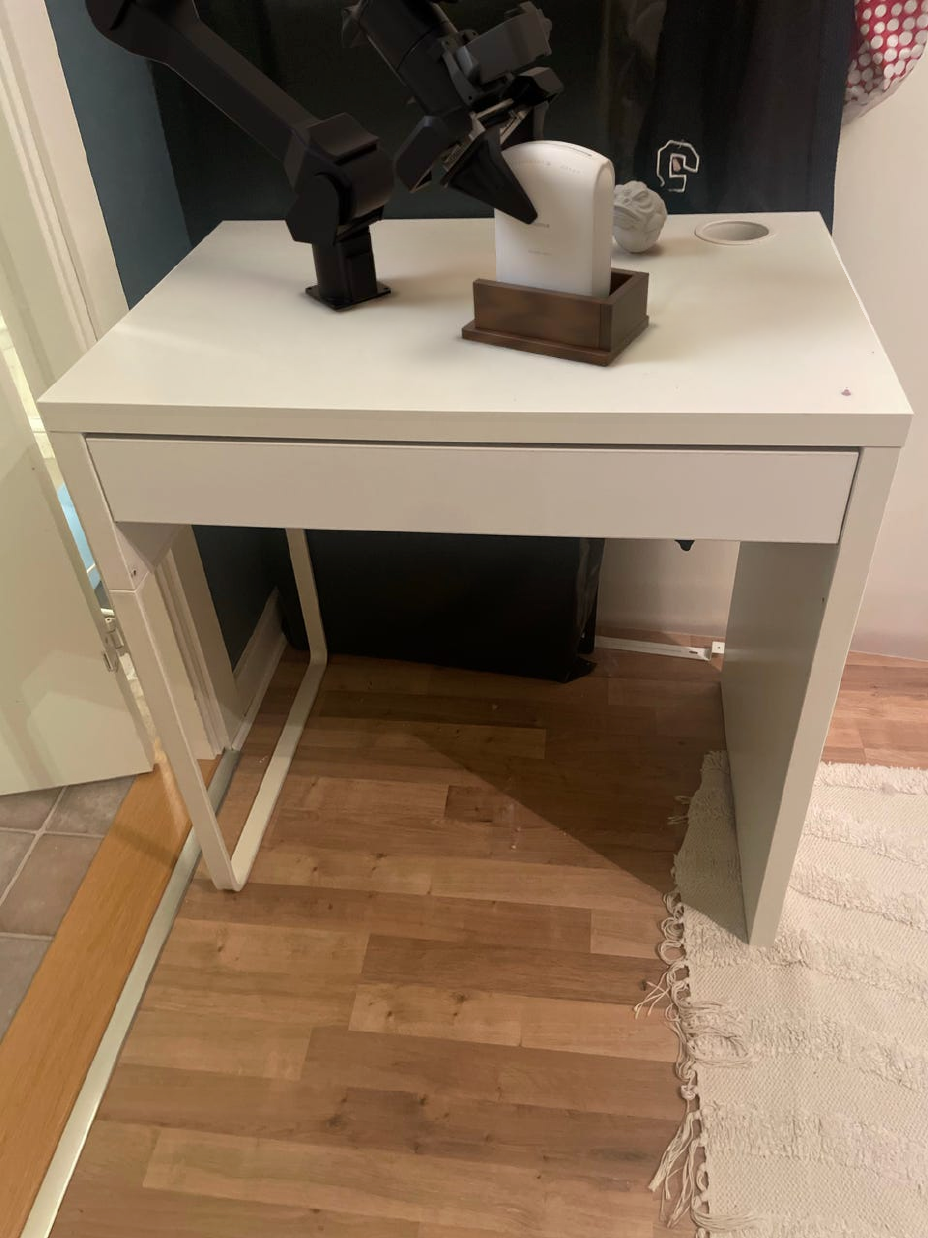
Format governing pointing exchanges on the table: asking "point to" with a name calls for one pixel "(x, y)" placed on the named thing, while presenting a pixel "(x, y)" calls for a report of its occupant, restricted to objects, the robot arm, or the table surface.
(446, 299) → the table surface
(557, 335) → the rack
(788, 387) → the table surface
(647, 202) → the frog figurine
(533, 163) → the photo printer
